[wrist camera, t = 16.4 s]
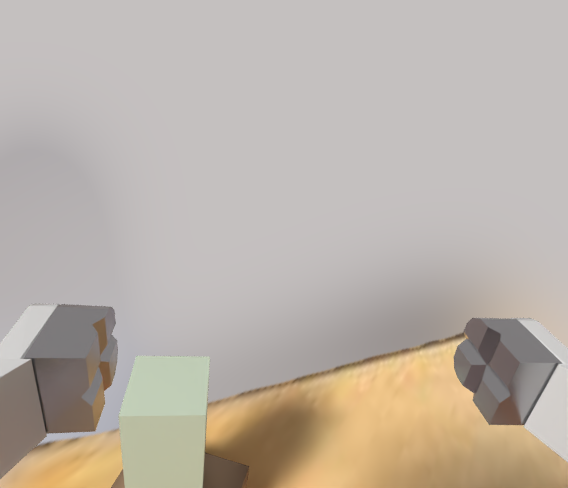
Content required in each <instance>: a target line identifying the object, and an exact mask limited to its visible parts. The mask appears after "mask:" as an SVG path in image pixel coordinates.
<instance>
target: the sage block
mask: <svg viewBox="0 0 568 488" xmlns="http://www.w3.org/2000/svg"><path fill="white" fill-rule="evenodd" d="M209 365H210V357H187V356H186V357H185V356H136V359H135V363H134V366H133V370H132V373H131V376H130V379H129V383H128V386H127V390H126V393H125V396H124V400H123V404H122V406H121V410H120V413H119V427H120V439H121V450H122V462H123V473H124V485H125V488H203V479H204V461H205V442H206V422H207V403H208V383H209Z"/></svg>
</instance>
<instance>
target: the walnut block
mask: <svg viewBox="0 0 568 488" xmlns="http://www.w3.org/2000/svg"><path fill="white" fill-rule="evenodd" d="M248 470H249V466H246V465H243V464H240V463H237V462H233V461H230V460H227V459H224V458H220V457H217V456H214V455H211V454H207V453H205V461H204V479H203V488H246V486H247V478H248ZM111 488H125V485H124V473H123V470H122V471H121V473H120V474H119V476H118V478H117V479H116V481H115V482H114V484H113V485H112V487H111Z"/></svg>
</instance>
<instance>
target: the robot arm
mask: <svg viewBox="0 0 568 488" xmlns="http://www.w3.org/2000/svg"><path fill="white" fill-rule="evenodd" d="M115 324H116V321H115V312H114V309H113V308H112V307H105V306H84V305H65V304H62V305H59V304H33V305H30V306H29V307H28V308H27V309H26V310H25V312H24V313H23V314H22V315H21V317H20V318H19V319H18V321H17V322H16V323H15V325H14V326H13V327H12V329H11V330H10V332H9V333H8V334H7V335H6V336H5V338H4V339H3V340H2V342H1V343H0V479H1V478H2V477H3V476H4V475H5V474H6V473H7V472H8V471H10V470H11V469H12V468H13V467H14V466H15V465H16V464H17V463H18V462H19V461H20V460H21V459H23V458H24V457H25V456H26V455H27V454H28V453H29V452H30V451H31V450H32V449H33V448H34V447H36V446H37V445H38V444H39V443H40V442H41V441H42V440H43V439H44V438H45V437H46V434H47V433H69V432H92V431H95V430H96V427H97V424H98V421H99V419H100V416H101V413H102V410H103V407H104V405H105V397H104V391H105V390H106V389H107V388H108V387H110V386H111V384H112V381H113V378H114V375H115V370H116V364H117V354H118V347H117V340H116V339H115V338H114V337H113V336H112V335H111V334H112V332H113V329H114V326H115ZM464 334H465V336H466V340H464V341H463V342H462V343H461V344H460V345H458V347H457V350H456V352H455V355H454V369H455V372H456V375H457V377H458V379H459V380H460V382H461V383H462V385H463V386H464V387H466V388H467V389H469V390H470V391H472V392H473V393H474V396H473V401H474V403H475V404H476V406H477V407H478V409H479V410H480V412H481V413H482V415H483V416H484V418H485V419H486V421H487V422H488V424H489V425H524V428H525V429H527V430H528V431H529V432H530V433H532V434H533V435H534V436H535V437H537V438H538V439H539V440H540V441H542V442H543V443H544V444H545V445H547V446H548V447H549V448H550V449H552V450H553V451H554V452H555V453H557V454H558V455H559V456H560V457H562V458H563V459H564V460H565V461H567V462H568V348H567V347H565V346H564V345H563V344H562V343H561V342H560V341H559V340H558V339H557V338H556V337H555V336H554V335H552V334H551V333H550V332H549V331H548V330H547V329H546V328H545V327H544V326H543V325H541V324H540V323H539V322H538V321H536V320H534V319H531V318H511V319H497V318H472V319H471V320H470V321H469V322H468V323H467V325H466V327H465V329H464Z"/></svg>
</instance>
